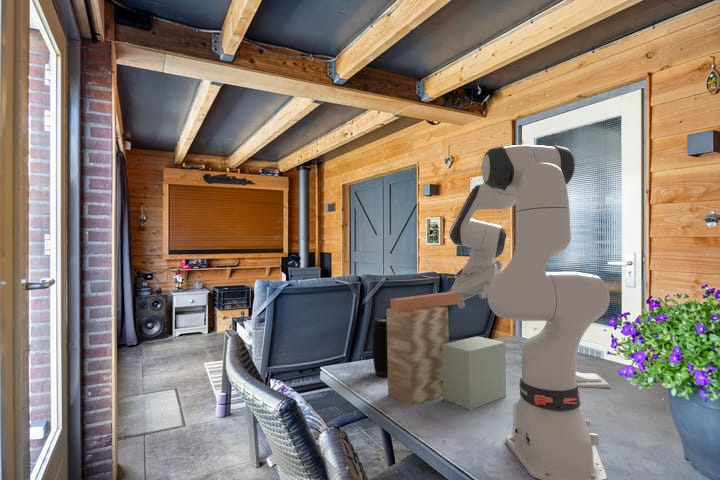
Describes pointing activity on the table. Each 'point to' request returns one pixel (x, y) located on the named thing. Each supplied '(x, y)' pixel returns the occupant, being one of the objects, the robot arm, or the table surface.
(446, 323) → the tower
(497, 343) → the sage green block
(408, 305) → the salmon square-ended bar
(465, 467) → the table surface
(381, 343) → the portable speaker
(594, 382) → the light switch
